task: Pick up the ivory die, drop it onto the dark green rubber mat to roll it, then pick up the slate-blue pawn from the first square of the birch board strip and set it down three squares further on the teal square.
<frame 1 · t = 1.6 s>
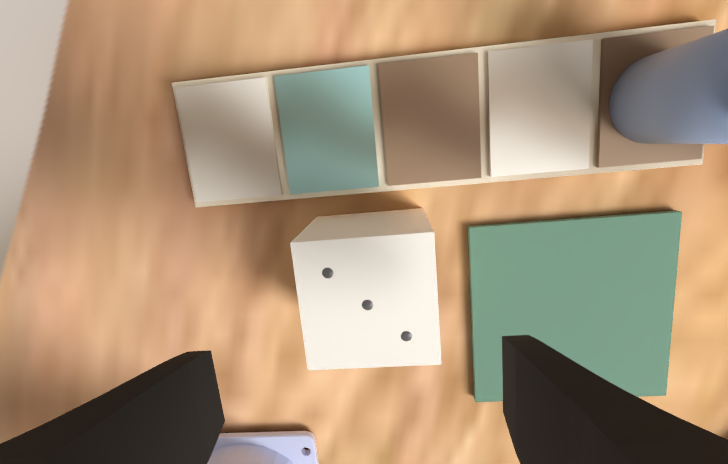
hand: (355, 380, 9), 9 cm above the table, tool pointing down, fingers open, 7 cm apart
pawn: (653, 99, 15), point 1 cm above the table, touching board
mat: (567, 310, 18), on the table
board: (429, 123, 17), on the table
die: (373, 262, 19), on the table
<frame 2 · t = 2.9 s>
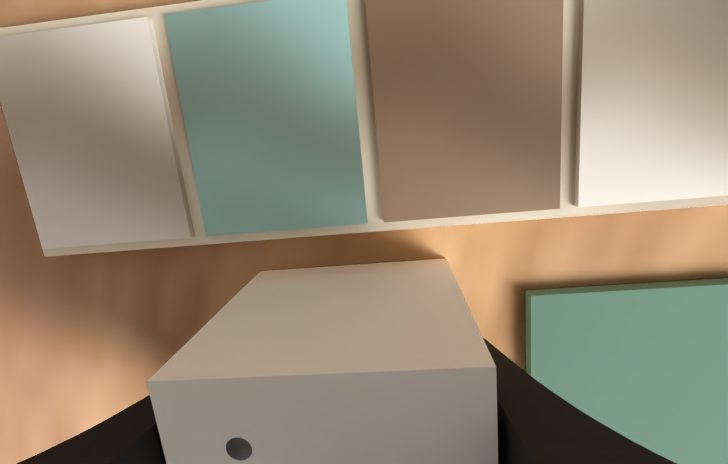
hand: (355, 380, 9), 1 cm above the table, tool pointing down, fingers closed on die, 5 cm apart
mat: (694, 433, 11), on the table
board: (459, 106, 9), on the table
die: (360, 349, 11), on the table, touching gripper
when the fingers open (8 cm above the table, at t = 4.9 s): die drops 6 cm, resting on mat.
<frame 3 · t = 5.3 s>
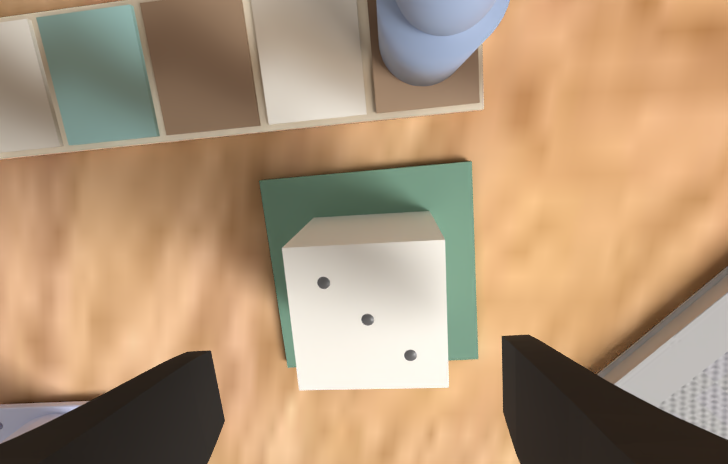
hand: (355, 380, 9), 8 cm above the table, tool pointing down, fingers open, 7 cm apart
pawn: (423, 38, 15), point 1 cm above the table, touching board
mat: (372, 270, 18), on the table
board: (210, 69, 16), on the table
die: (374, 269, 17), resting on mat
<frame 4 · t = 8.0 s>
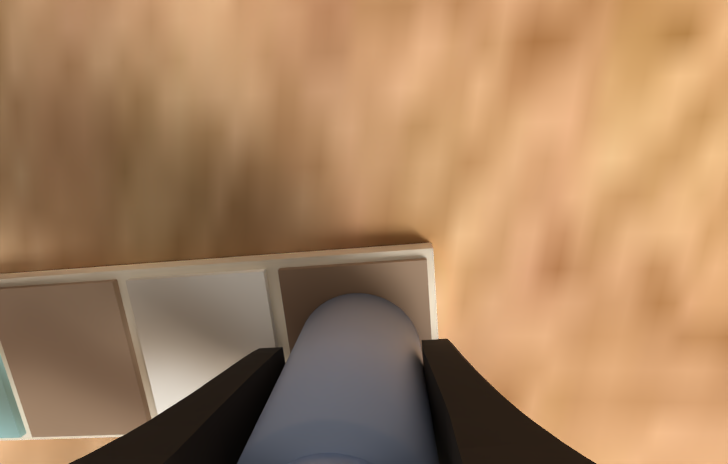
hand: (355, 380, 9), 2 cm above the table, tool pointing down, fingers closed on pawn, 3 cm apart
pawn: (359, 350, 11), point 1 cm above the table, touching board, gripper
board: (89, 350, 12), on the table
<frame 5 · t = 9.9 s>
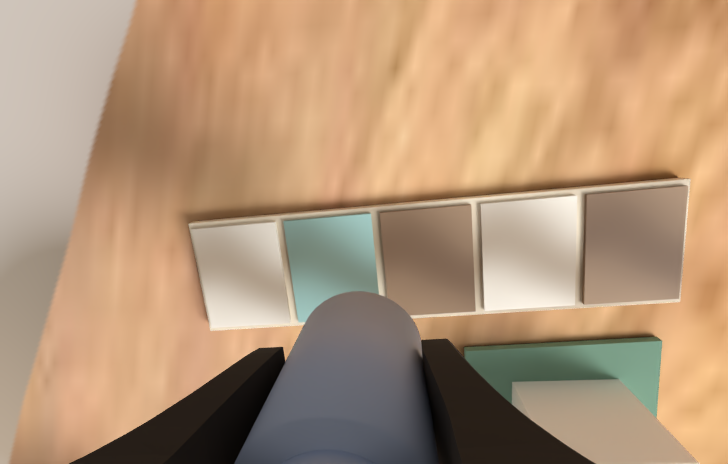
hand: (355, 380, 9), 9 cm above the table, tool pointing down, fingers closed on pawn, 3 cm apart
pawn: (360, 348, 11), point 8 cm above the table, touching gripper
mat: (557, 421, 20), on the table
board: (427, 258, 18), on the table
die: (563, 424, 19), resting on mat
when the fingers open (3 cm above the table, at t = 11.7 s): pawn stays where it is, resting on board.
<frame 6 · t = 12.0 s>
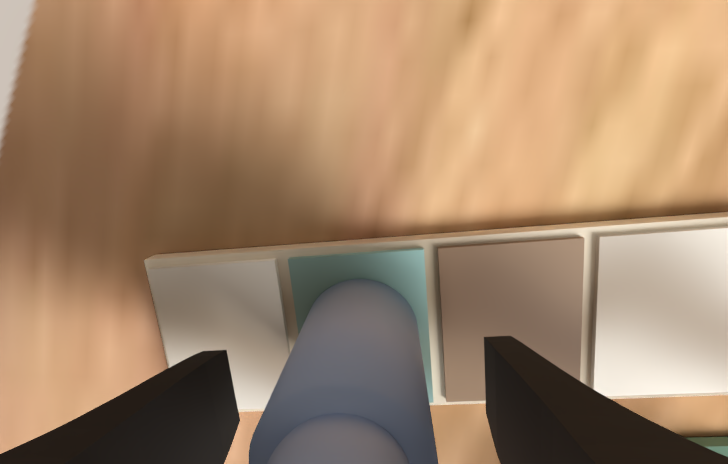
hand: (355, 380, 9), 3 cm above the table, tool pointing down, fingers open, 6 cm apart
pawn: (361, 331, 12), point 1 cm above the table, touching board
board: (503, 313, 12), on the table
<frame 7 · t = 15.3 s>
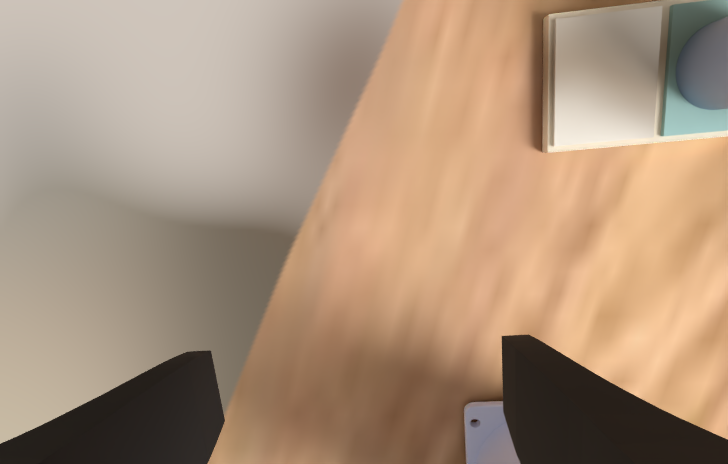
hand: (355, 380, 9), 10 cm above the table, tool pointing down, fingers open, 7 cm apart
pawn: (721, 65, 15), point 1 cm above the table, touching board
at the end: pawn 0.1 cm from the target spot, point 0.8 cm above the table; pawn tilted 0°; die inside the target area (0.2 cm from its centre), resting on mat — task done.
